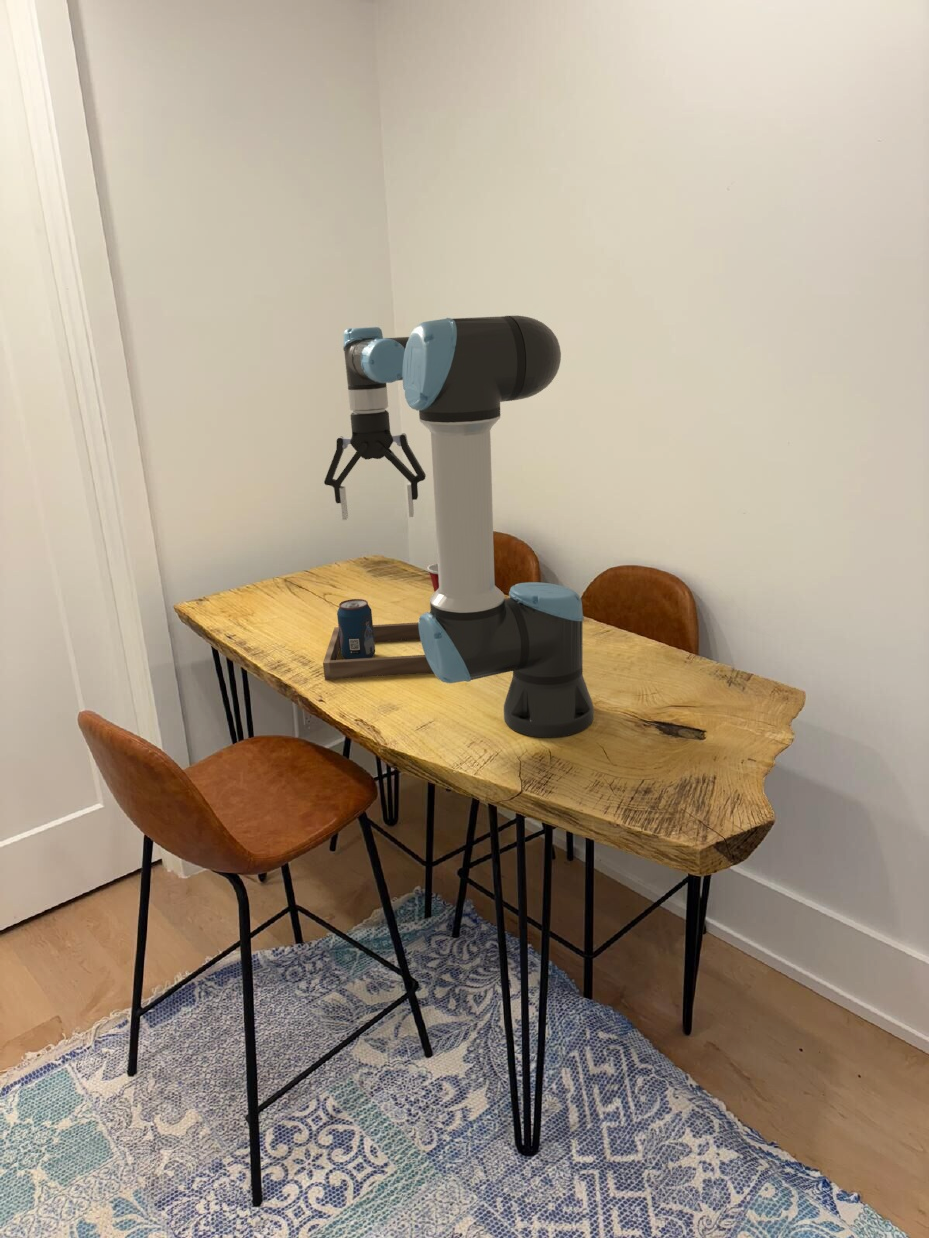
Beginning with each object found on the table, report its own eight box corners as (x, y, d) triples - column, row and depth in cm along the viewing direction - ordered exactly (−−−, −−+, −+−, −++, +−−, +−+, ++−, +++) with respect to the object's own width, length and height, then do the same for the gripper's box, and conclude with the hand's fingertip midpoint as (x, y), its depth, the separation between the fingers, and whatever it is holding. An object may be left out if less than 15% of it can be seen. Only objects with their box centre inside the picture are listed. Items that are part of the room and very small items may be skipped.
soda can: (345, 652, 176) (339, 598, 171) (378, 651, 175) (372, 597, 171) (339, 665, 169) (333, 609, 165) (373, 664, 169) (367, 608, 165)
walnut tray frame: (451, 672, 163) (450, 655, 162) (324, 679, 163) (322, 663, 161) (449, 635, 182) (448, 620, 181) (336, 642, 181) (334, 627, 180)
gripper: (433, 405, 167) (440, 510, 174) (309, 411, 167) (320, 515, 175) (432, 409, 160) (438, 518, 167) (302, 416, 160) (314, 524, 168)
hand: (378, 517), depth 171 cm, fingers open, 13 cm apart
